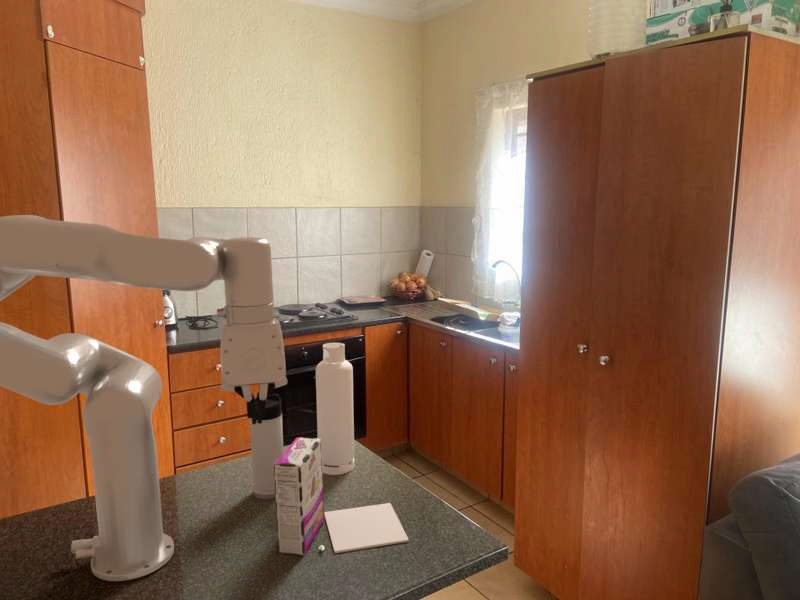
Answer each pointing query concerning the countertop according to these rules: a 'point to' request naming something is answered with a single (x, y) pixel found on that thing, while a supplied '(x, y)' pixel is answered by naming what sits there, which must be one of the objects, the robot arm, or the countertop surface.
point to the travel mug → (266, 447)
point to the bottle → (335, 410)
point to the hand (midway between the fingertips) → (256, 421)
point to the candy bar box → (299, 495)
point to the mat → (364, 527)
